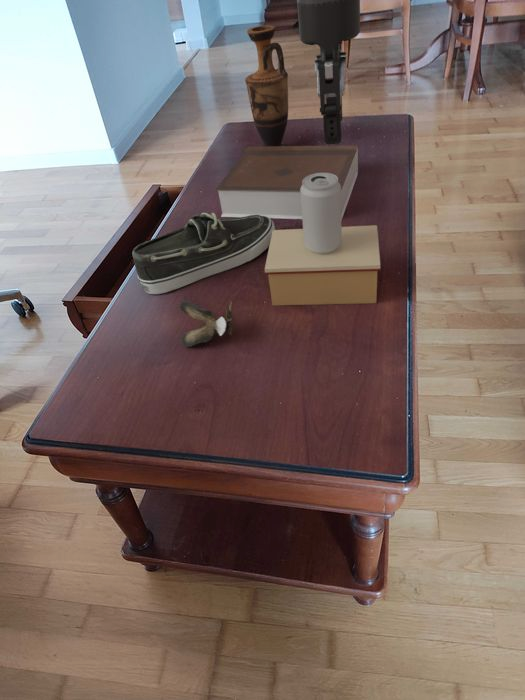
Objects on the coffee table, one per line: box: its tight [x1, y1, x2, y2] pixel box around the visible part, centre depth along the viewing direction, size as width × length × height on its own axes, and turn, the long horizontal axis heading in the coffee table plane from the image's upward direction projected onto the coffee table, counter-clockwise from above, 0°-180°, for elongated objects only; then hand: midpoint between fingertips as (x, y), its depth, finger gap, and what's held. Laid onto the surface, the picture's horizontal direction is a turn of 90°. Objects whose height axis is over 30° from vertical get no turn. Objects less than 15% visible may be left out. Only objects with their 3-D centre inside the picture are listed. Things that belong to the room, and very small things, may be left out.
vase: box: [244, 24, 289, 146], centre depth 133 cm, size 11×11×30 cm
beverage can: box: [300, 173, 342, 254], centre depth 84 cm, size 6×6×12 cm
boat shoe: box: [131, 212, 276, 295], centre depth 100 cm, size 11×31×10 cm, turn 125°
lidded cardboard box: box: [264, 224, 382, 306], centre depth 91 cm, size 19×13×8 cm
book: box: [215, 144, 360, 221], centre depth 121 cm, size 24×28×6 cm
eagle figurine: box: [178, 300, 234, 348], centre depth 85 cm, size 8×7×9 cm
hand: (334, 131), depth 72 cm, fingers open, 8 cm apart
